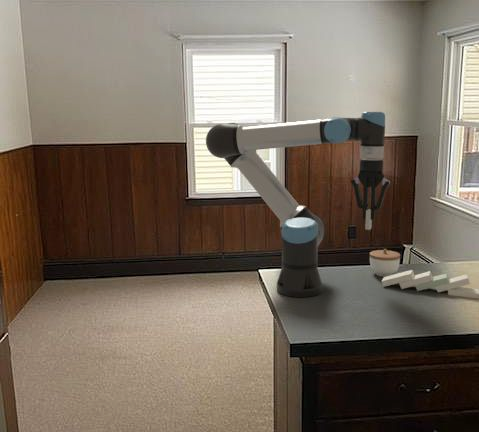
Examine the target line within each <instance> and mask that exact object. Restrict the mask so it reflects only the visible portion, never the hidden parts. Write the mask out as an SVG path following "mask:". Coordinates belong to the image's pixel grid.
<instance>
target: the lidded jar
mask: <svg viewBox="0 0 479 432" xmlns="http://www.w3.org/2000/svg"><path fill="white" fill-rule="evenodd" d="M400 260H401V254H400V253H399V252H398V251H394V250H387V248H383V249H380V250H379V249H378V250H372V251H370V252H369V264H370V265H369V266H370V268H371V270H372V271H373V273H374V274H375V275H376V276H377V277H382V278H384V277H386V276H390V275H394V274H396V273H397V271H398V270H399V268H400Z"/></svg>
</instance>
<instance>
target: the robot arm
mask: <svg viewBox="0 0 479 432" xmlns="http://www.w3.org/2000/svg"><path fill="white" fill-rule="evenodd" d="M385 133H386V114H385V113H384V112H383V111H363V112H362V113H361V116H360V117H327V118H326V119H315V120H304V121H296V122H284V123H276V124H265V125H255V126H247V127H244V126H243V125H242V124H239V123H235V122H228V123H219V124H215V125H214V126H212V127H211V128H210V129H209V130H208V132H207V134H206V137H205V145H206V148H207V150H208V151H209V153H210V154H211V155H212V156H213V157H216V158H219V159H224V160H225V161H226V163H228V165H229V166H230V167H231V168H236V169H238V171H240V173H241V174H242V175H243V177H244V178H245V179H246V180H247V181H248V183H249V184H250V185H251V187H252V188H254V190H255V191H256V193H257V194H258V195H259V196H260V197H261V199H262V200H263V201H264V202H265V203H266V205H267V206H268V207H269V208H270V210H271V211H272V212H273V213H274V215H275V216H276V217H277V218H278V220H279V227H280V228H281V230H280V232H281V269H280V272H279V275H278V278H277V281H276V291H277V292H278V293H279V294H281V295H283V296H287V297H294V298H309V297H314V296H317V295H320V294H322V292H323V282H322V281H323V280H322V277H321V275H320V272H319V269H318V257H319V256H318V255H319V254H318V249H319V245H320V244H321V243H322V241H323V239H324V237H325V226H324V224H323V221H322V220H321V218H320V217H319V216H317V215H315V214H313V213H312V212H311V211H310V210H309V208H308V207H307V206H306V205H302V204H301V205H300V204H299V203H298V202H297V201H296V199H295V198H294V197H293V196H292V194H291V193H290V192H289V191H288V190H287V188H286V187H285V186H284V185H283V184H282V182H281V181H280V180H279V179H278V177H277V176H276V175H275V174H274V173H273V171H272V170H271V169H270V167H269V166H268V165H267V164H266V162H265V161H264V160H263V159H262V157H260V155H259V154H258V153H257V151H258V150H269V149H280V148H281V149H282V148H289V147H291V148H292V147H300V146H302V147H303V146H312V145H324V144H342V143H344V142H348V141H353V142H358V141H360V150H359V155H360V157H359V158H361V159H360V160H359V172H358V174H357V176H356V177H354V178H353V179H351V180H350V183H351V185H352V186H353V190H354V194H355V200H356V205H357V208H358V209H359V208H360V209H362V219H363V220H365V228H364V230H366V231H367V230H368V231H371V230H372V228H373V227H372V225H373V224H372V222H373V221H374V220H375V218H376V211H377V210H379V209H381V208H382V205H383V202H384V200H385V196H386V192H387V189H388V187H389V186H390V184H391V183H392V182H391V181H390V180H388V179H386V178H385V175H384V171H383V170H384V161H383V159H384V153H385V135H386V134H385ZM360 183H361V185H362V186H363V197H362V194H361V193H362V192H361V189H360V188H361V187H360ZM380 184H381V185H382V187H381V189H380V193H379V196H378V199H377V191H378V186H379V185H380ZM370 191H371V192H370ZM369 193H371V195H370V194H369ZM369 197H370V209H369Z"/></svg>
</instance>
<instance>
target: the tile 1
mask: <svg viewBox="0 0 479 432" xmlns="http://www.w3.org/2000/svg"><path fill="white" fill-rule="evenodd" d="M415 275H416V274H415V273H414V270H413V269H409V270H406V271H402V272H398V273H394V274H393V275H390V276H386V277H382V280H381V284H382V286H383V288H384V287H388V286H391V285H396V284H399V283H401V282H405V281H409V280H413V278H414V276H415Z"/></svg>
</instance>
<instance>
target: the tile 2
mask: <svg viewBox="0 0 479 432" xmlns="http://www.w3.org/2000/svg"><path fill="white" fill-rule="evenodd" d="M414 275H415V276H414V278H413V280H409V281H405V282H401V283H398V284H399V287H400V289H401V290H403V289H407V288H410V287H411V288H412V287H414V286H415V285H418V284H422V283H426V282H429V281H432V277H434V276H433V274H432V272H431V270H428V271H426V272H422V273H418V274H414ZM415 287H416V286H415Z"/></svg>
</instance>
